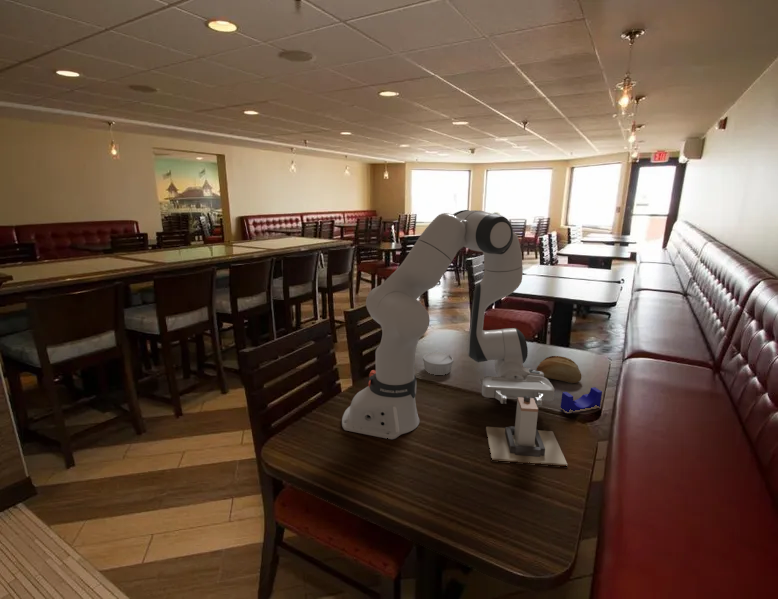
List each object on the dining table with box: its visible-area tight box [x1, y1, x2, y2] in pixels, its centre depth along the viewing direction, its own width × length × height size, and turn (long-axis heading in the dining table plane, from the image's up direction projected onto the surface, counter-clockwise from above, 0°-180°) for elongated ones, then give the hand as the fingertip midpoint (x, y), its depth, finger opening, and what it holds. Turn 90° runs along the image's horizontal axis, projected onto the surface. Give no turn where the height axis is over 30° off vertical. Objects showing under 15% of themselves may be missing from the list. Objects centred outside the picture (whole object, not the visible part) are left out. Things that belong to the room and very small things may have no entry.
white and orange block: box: [514, 396, 539, 447], centre depth 104 cm, size 4×6×13 cm
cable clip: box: [560, 386, 603, 412], centre depth 124 cm, size 12×4×6 cm, turn 106°
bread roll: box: [535, 355, 582, 384], centre depth 144 cm, size 10×15×8 cm, turn 70°
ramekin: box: [422, 351, 454, 376], centre depth 150 cm, size 11×11×5 cm
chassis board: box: [485, 425, 569, 467], centre depth 106 cm, size 18×14×3 cm
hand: (521, 402), depth 111 cm, fingers open, 8 cm apart
